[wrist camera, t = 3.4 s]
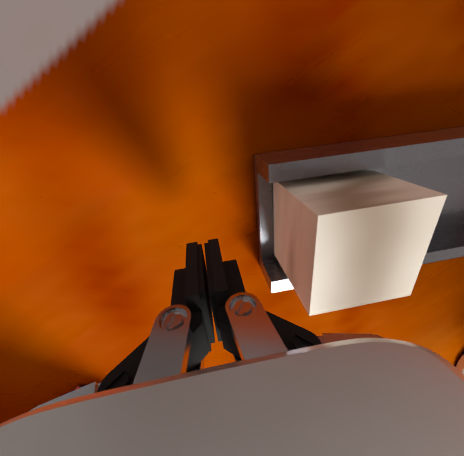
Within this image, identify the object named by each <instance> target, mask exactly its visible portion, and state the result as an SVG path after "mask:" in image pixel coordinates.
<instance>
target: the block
mask: <svg viewBox="0 0 464 456" xmlns="http://www.w3.org/2000/svg"><path fill="white" fill-rule="evenodd" d="M446 197H447V194H444V193H440V192H437V191H434V190H431V189H428V188H425V187H422V186H419V185H416V184H413V183H410V182H407V181H404V180H401V179H398V178H395V177H391V176H388V175H385V174H382V173H379V172H376V171H373V170H370V169H364V170H358V171H351V172H344V173H337V174H330V175H323V176H316V177H310V178H303V179H296V180H289V181H282V182H275V183H273V203H274V255H275V257H276V258H277V260H278V262H279V264H280V265H281V267H282V269H283V271H284V272H285V274H286V276H287V278H288V279H289V281H290V283H291V285H292V286H293V288H294V290H295V292H296V293H297V295H298V297H299V299H300V300H301V302H302V304H303V306H304V307H305V309H306V311H307V313H308V314H309V316H311V315H316V314H321V313H326V312H331V311H336V310H341V309H345V308H350V307H355V306H360V305H365V304H370V303H375V302H380V301H385V300H390V299H395V298H400V297H404V296H409V295H411V293H412V290H413V287H414V284H415V282H416V279H417V276H418V274H419V271H420V268H421V265H422V263H423V260H424V257H425V254H426V252H427V249H428V246H429V244H430V241H431V238H432V235H433V233H434V230H435V227H436V225H437V222H438V219H439V216H440V214H441V211H442V208H443V205H444V203H445V200H446Z"/></svg>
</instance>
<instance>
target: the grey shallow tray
mask: <svg viewBox="0 0 464 456" xmlns="http://www.w3.org/2000/svg"><path fill="white" fill-rule="evenodd" d="M364 169H370V170H373V171H376V172H379V173H382V174H385V175H388V176H391V177H395V178H398V179H401V180H404V181H407V182H410V183H413V184H416V185H419V186H422V187H425V188H428V189H431V190H434V191H437V192H440V193H444V194H447V197H446V200H445V203H444V205H443V208H442V211H441V214H440V216H439V219H438V222H437V225H436V227H435V230H434V233H433V235H432V238H431V241H430V244H429V246H428V249H427V252H426V254H425V257H424V260H423V263H422V264H426V263H431V262H436V261H442V260H447V259H452V258H457V257H463V256H464V126H462V127H455V128H447V129H440V130H432V131H425V132H417V133H410V134H402V135H395V136H387V137H380V138H372V139H365V140H357V141H350V142H342V143H335V144H327V145H320V146H312V147H305V148H297V149H290V150H282V151H275V152H267V153H260V154H254V171H255V190H256V209H257V228H258V247H259V265H260V267H261V270H262V272H263V274H264V277H265V279H266V281H267V284H268V286H269V288H270V290H271V293H274V292H279V291H284V290H290V289H294V288H293V286H292V285H291V283H290V281H289V279H288V278H287V276H286V274H285V272H284V271H283V269H282V267H281V265H280V264H279V262H278V260H277V258H276V257H275V255H274V203H273V183H275V182H282V181H289V180H296V179H303V178H310V177H316V176H323V175H330V174H337V173H344V172H351V171H358V170H364Z"/></svg>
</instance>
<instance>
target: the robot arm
mask: <svg viewBox="0 0 464 456" xmlns="http://www.w3.org/2000/svg"><path fill="white" fill-rule="evenodd" d="M204 245H205V256H206V265H205V260H204V255H203V250H202V245H201V244H197V242H194V243H188V244H187V247H186V268H184V269H178V270H175V272H174V281H173V290H172V299H171V306H169V307H167V308H165V309H164V310H162V311H161V312H160V313H159V314H158V316H157V318H156V320H155V322H154V325H153V328H152V331H151V334H150V336H149V337H148V338H147V339H146V340H145V341H144V342H143V343H142V344H141V345H139V346H138V347H137V348H136V349H135V350H134V351H133V352H132V353H131V354H130V355H128V356H127V357H126V358H125V359H124V360H123V361H122V362H121V363H120V364H119V365H117V366H116V367H115V368H114V369H113V370H112V371H111V372H110V373H109V374H108V375H107V376H106V377H105V378H104V379H103V381H102V382H101V383H99V384H97V383H96V382H93V383H91V384H88V385H86V386H84V387H81V388H79V389H77V390H74V391H72V392H70V393H67V394H65V395H62V396H60V397H58V398H55V399H53V400H51V401H48V402H46V403H44V404H41V405H39V406H37V407H35V408H33V409H32V410H30V411H29V412H26V413H23V414H21V415H19V416H16V417H14V418H12V419H10V420H7V421H5V422H3V423H1V424H0V456H464V354H463V355H462V356H461V358H460V359H459V361H458V363H457V365H456V367H455V366H454V365H452V364H451V363H450V362H448V361H447V360H446V359H444V358H443V357H441V356H440V355H438V354H437V353H435V352H433V351H431V350H430V349H427V348H425V347H422V346H420V345H417V344H413V343H410V342H405V341H400V340H394V339H387V338H383V337H381V336H379V335H374V334H341V333H323V334H322V336H316V335H315V334H313V333H312V332H310V331H308V330H306V329H304V328H302V327H299V326H297V325H295V324H293V323H291V322H289V321H287V320H284V319H282V318H280V317H278V316H276V315H274V314H271V313H269V312H267V311H265V310H264V308H263V306H262V304H261V303H260V301H259V299H258V298H257V297H256V296H255V295H253V294H251V293H247V292H245V289H244V285H243V282H242V278H241V275H240V272H239V268H238V265H237V261H236V260H230V261H224V262H222V257H221V252H220V247H219V242H218V239H212V240H208V243H204ZM206 267H207V270H206ZM212 312H213V317H214V322H215V327H216V332H217V337H218V341H223V347H224V349H226V350H227V351H229V352H230V353H232V354H233V358H234V362H233V363H228V364H224V365H219V366H214V367H210V368H205V369H203V368H204V361H203V359H204V357H205V356H206V355H207V354H208V352H209V351H211V343H215V338H214V327H213V317H212Z"/></svg>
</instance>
